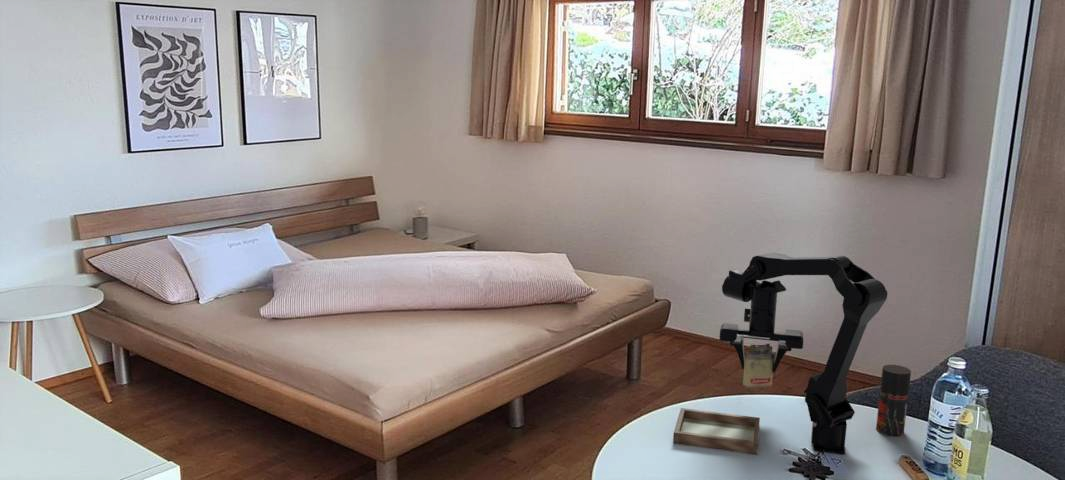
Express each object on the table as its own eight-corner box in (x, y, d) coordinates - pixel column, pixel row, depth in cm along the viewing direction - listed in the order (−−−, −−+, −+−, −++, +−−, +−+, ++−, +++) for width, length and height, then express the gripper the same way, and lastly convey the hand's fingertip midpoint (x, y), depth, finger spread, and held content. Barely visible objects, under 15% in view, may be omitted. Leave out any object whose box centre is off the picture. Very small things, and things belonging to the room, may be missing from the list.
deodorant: (905, 438, 191) (912, 375, 188) (877, 434, 193) (884, 372, 189) (901, 427, 197) (908, 366, 193) (874, 424, 198) (881, 363, 195)
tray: (758, 428, 195) (759, 417, 194) (757, 454, 182) (758, 443, 181) (680, 418, 200) (680, 407, 199) (673, 443, 187) (673, 432, 186)
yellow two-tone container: (746, 388, 198) (749, 347, 196) (739, 382, 201) (742, 342, 199) (774, 387, 199) (778, 346, 197) (767, 381, 203) (771, 341, 200)
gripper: (804, 301, 201) (799, 363, 204) (724, 294, 206) (720, 354, 209) (805, 314, 191) (800, 379, 194) (721, 306, 196) (717, 370, 199)
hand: (758, 370), depth 199 cm, fingers closed on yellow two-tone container, 7 cm apart
